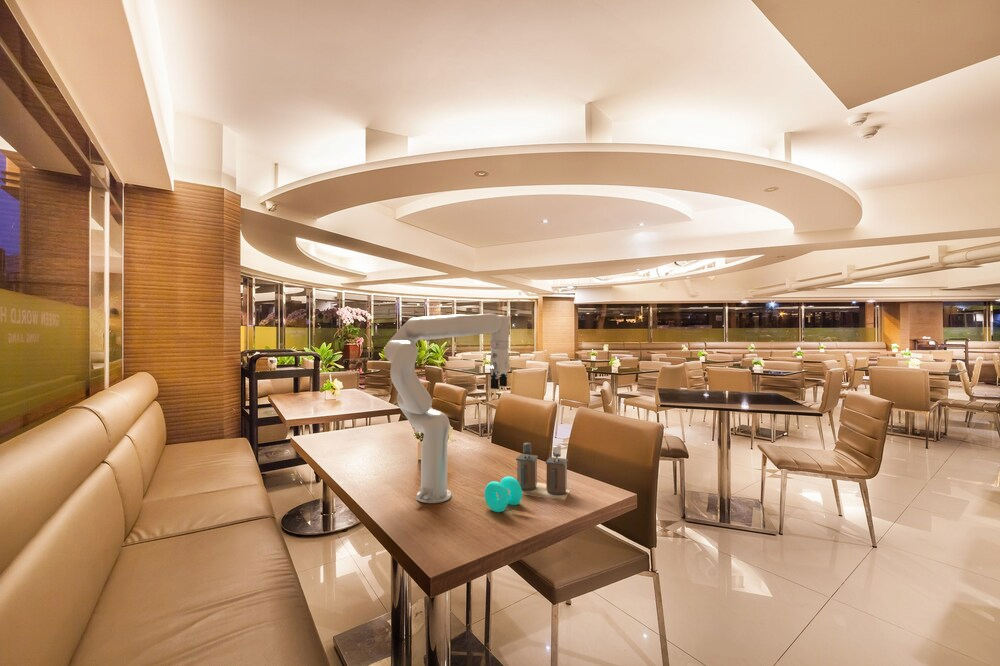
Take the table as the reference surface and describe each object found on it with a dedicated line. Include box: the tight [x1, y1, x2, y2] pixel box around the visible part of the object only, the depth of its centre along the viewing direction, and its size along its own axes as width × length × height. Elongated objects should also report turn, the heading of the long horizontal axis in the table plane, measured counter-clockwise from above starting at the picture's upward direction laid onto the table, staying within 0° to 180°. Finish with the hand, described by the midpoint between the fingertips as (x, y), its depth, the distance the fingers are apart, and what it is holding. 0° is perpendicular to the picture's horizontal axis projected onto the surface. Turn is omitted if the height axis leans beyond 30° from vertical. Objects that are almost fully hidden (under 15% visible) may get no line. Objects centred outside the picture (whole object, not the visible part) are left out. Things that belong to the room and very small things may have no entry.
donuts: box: [484, 476, 523, 513], centre depth 142 cm, size 10×10×10 cm
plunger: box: [552, 444, 562, 462], centre depth 154 cm, size 5×5×16 cm
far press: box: [515, 442, 539, 491], centre depth 157 cm, size 9×7×17 cm
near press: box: [545, 456, 568, 495], centre depth 153 cm, size 9×7×12 cm
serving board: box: [522, 481, 572, 501], centre depth 156 cm, size 14×20×1 cm
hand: (498, 387), depth 168 cm, fingers open, 9 cm apart
